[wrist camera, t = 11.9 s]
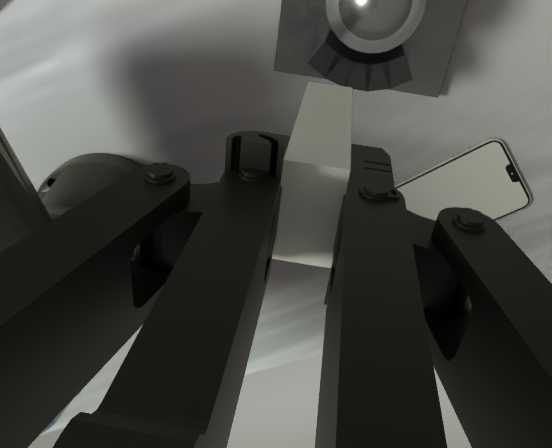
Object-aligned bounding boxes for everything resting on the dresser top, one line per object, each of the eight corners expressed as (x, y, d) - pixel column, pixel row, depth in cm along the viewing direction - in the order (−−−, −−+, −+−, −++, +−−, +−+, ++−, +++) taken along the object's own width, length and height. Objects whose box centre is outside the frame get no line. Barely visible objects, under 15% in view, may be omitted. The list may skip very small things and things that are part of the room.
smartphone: (338, 213, 46) (499, 134, 39) (339, 210, 46) (497, 131, 40) (378, 271, 48) (535, 205, 42) (378, 267, 49) (533, 201, 42)
